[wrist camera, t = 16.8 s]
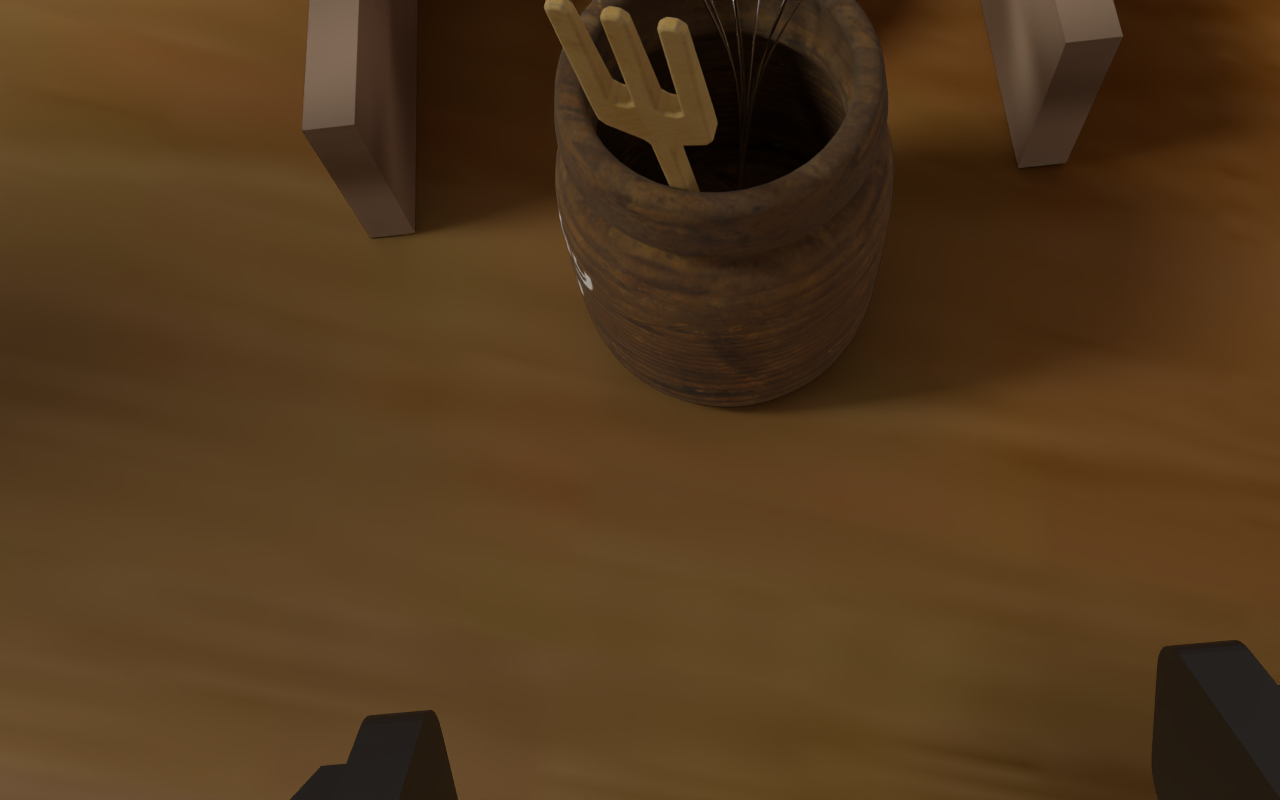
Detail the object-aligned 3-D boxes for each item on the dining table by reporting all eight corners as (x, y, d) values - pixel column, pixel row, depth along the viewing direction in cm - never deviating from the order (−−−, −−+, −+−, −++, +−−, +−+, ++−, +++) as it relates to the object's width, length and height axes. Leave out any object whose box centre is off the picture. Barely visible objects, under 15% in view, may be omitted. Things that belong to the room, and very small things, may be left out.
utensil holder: (901, 193, 24) (1027, -375, 13) (829, 466, 22) (904, 71, 11) (636, 138, 25) (540, -428, 14) (544, 392, 23) (345, -34, 12)
